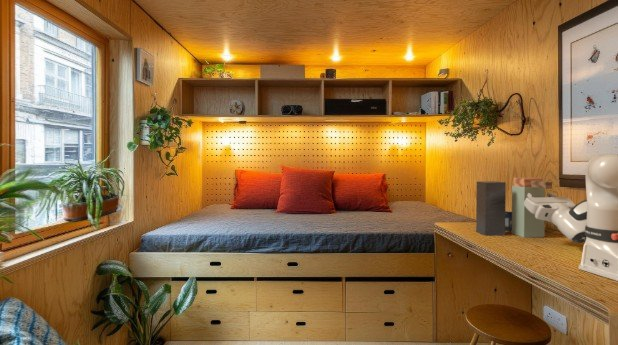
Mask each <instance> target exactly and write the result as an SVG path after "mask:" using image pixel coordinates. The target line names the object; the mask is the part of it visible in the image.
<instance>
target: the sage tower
mask: <svg viewBox="0 0 618 345" xmlns="http://www.w3.org/2000/svg"><path fill="white" fill-rule="evenodd" d="M528 193H532V194H533V196H532V197H534V198H538V197H546V189H543V188H535V187H520V186H514V185H512V186H511V212H512V232H511V234H512V235H516V236H518V237H521V238H525V239H526V238H527V239H528V238H545V226H546V224H545V223H546V221H545V220H540V219H537V218H535V214H532V213H531V212H530V211H529V210H528V209H527V208H526V207H525V206H524V201H525V199H526V198H529V197H528V196H527V195H528Z"/></svg>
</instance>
